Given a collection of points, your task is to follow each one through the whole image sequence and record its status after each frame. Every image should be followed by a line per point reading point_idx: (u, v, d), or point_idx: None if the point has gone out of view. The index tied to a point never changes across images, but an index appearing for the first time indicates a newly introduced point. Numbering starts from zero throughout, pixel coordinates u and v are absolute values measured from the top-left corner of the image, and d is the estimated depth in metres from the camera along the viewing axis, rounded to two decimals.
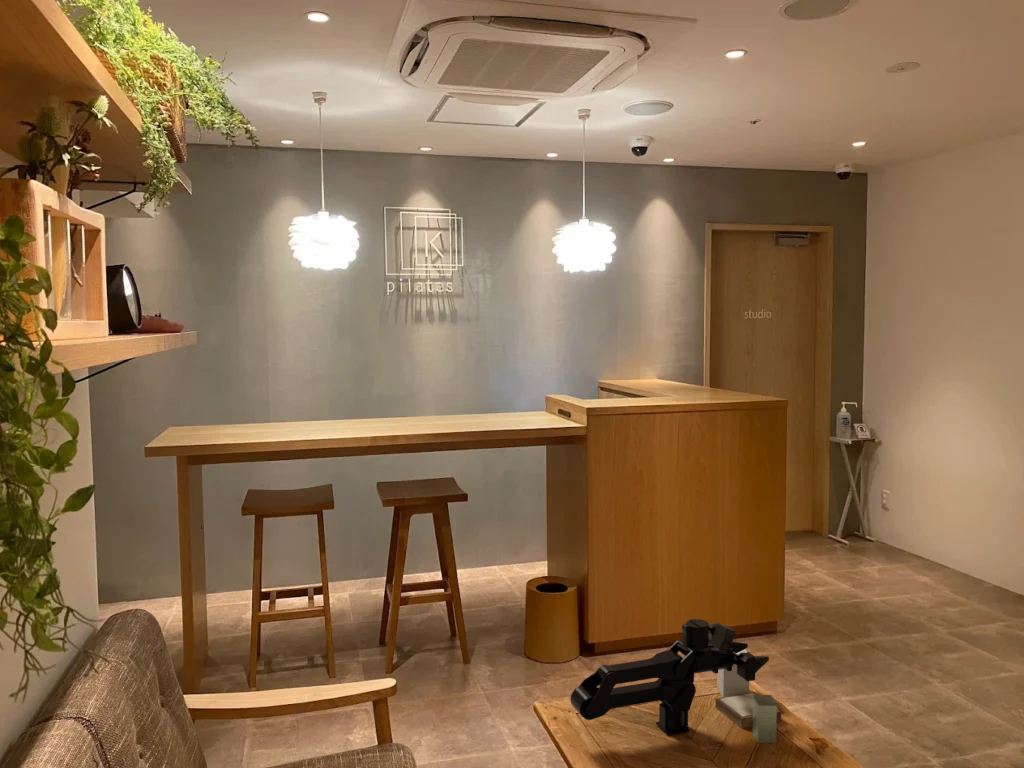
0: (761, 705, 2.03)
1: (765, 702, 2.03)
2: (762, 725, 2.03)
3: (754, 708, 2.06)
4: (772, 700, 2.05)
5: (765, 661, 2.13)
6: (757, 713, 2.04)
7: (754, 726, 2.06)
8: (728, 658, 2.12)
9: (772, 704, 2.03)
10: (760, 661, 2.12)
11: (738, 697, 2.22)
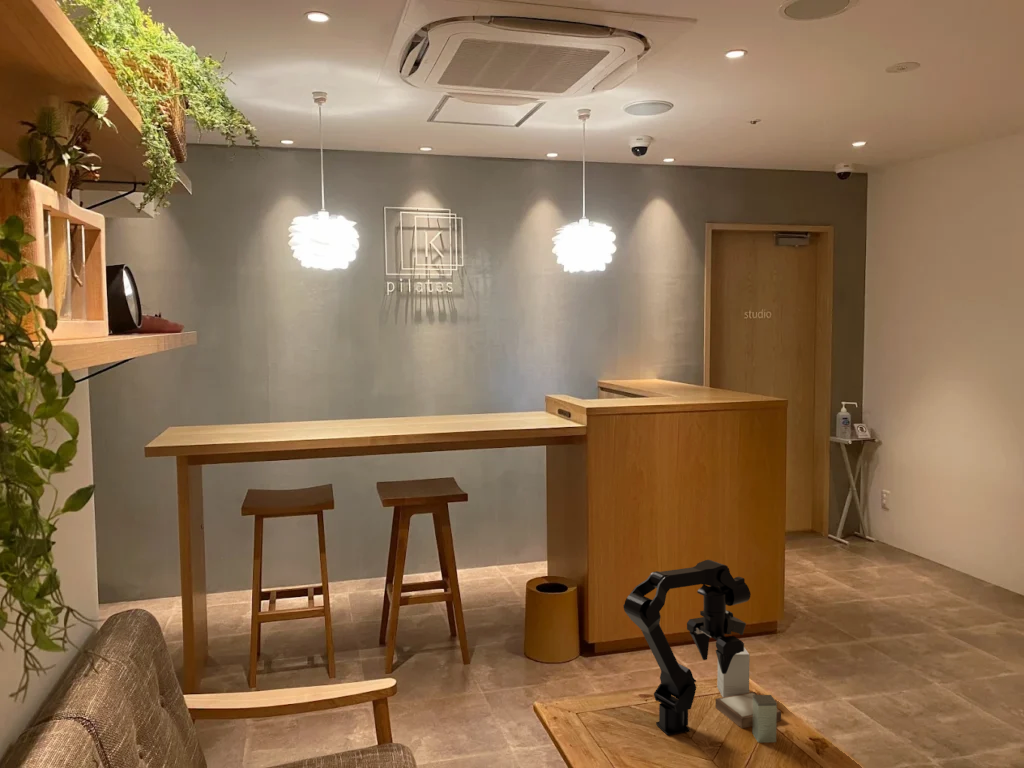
0: (761, 705, 2.03)
1: (765, 702, 2.03)
2: (762, 725, 2.03)
3: (754, 708, 2.06)
4: (772, 700, 2.05)
5: (724, 669, 2.12)
6: (757, 713, 2.04)
7: (754, 726, 2.06)
8: (722, 629, 2.14)
9: (772, 704, 2.03)
10: (727, 663, 2.12)
11: (738, 697, 2.22)
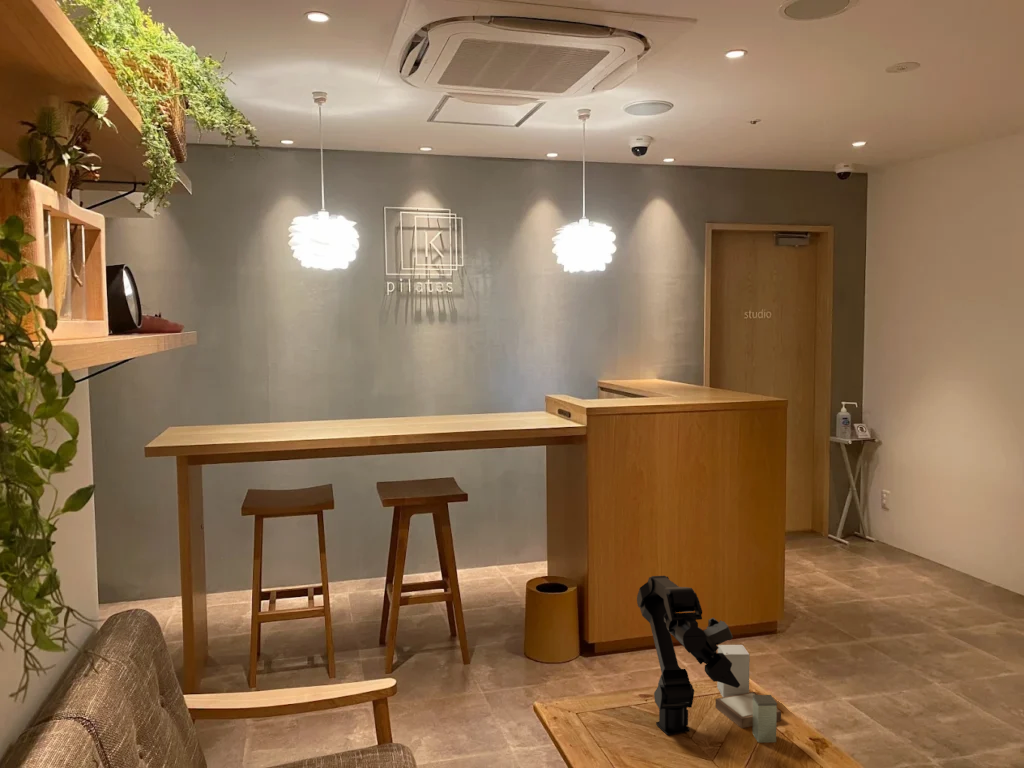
0: (761, 705, 2.03)
1: (765, 702, 2.03)
2: (762, 725, 2.03)
3: (754, 708, 2.06)
4: (772, 700, 2.05)
5: (734, 684, 1.99)
6: (757, 713, 2.04)
7: (754, 726, 2.06)
8: (707, 650, 2.01)
9: (772, 704, 2.03)
10: (731, 678, 1.98)
11: (738, 697, 2.22)
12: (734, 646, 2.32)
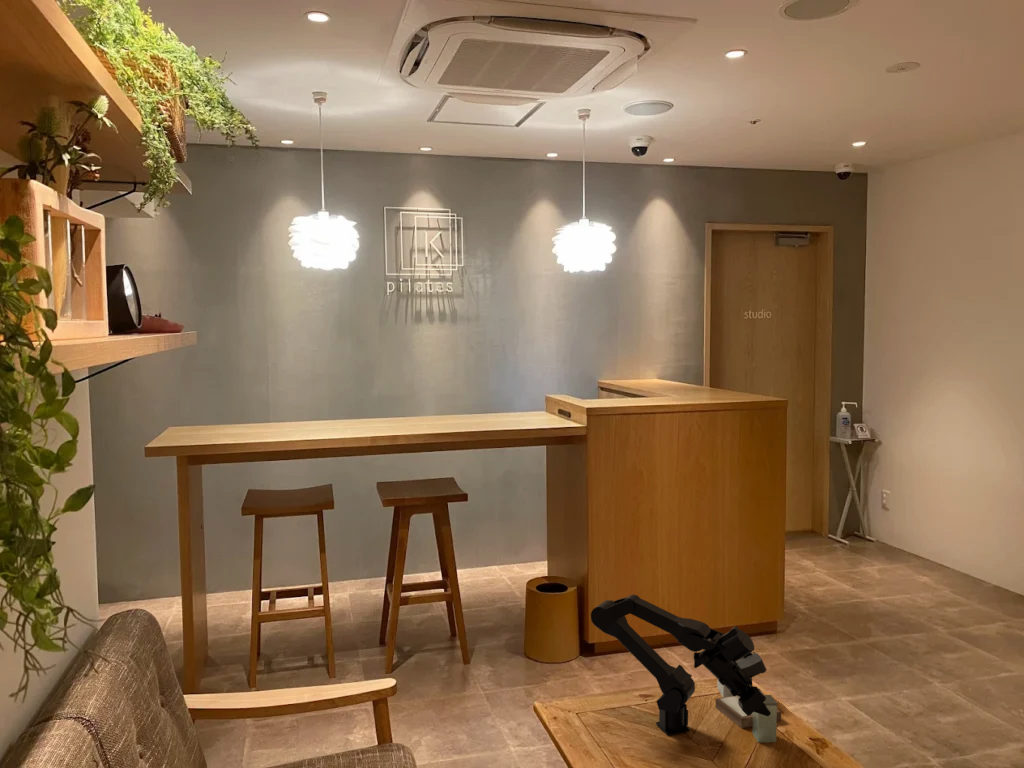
0: None
1: (765, 702, 2.03)
2: (762, 725, 2.03)
3: None
4: (772, 700, 2.05)
5: (765, 713, 2.02)
6: (757, 713, 2.04)
7: (754, 726, 2.06)
8: (741, 683, 2.02)
9: (772, 704, 2.03)
10: (762, 707, 2.02)
11: (738, 697, 2.22)
12: None
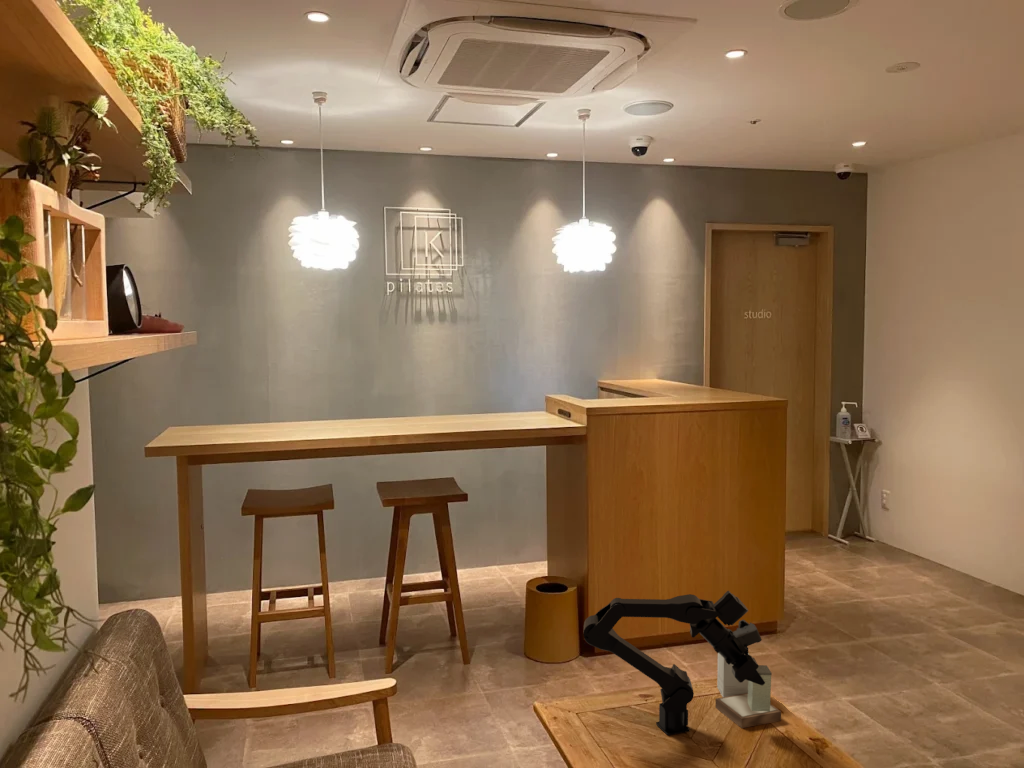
0: None
1: (760, 671, 2.07)
2: (756, 694, 2.07)
3: None
4: (767, 670, 2.08)
5: (759, 682, 2.06)
6: (752, 682, 2.07)
7: (749, 695, 2.10)
8: (735, 652, 2.06)
9: (767, 674, 2.06)
10: (756, 676, 2.05)
11: (738, 697, 2.22)
12: None
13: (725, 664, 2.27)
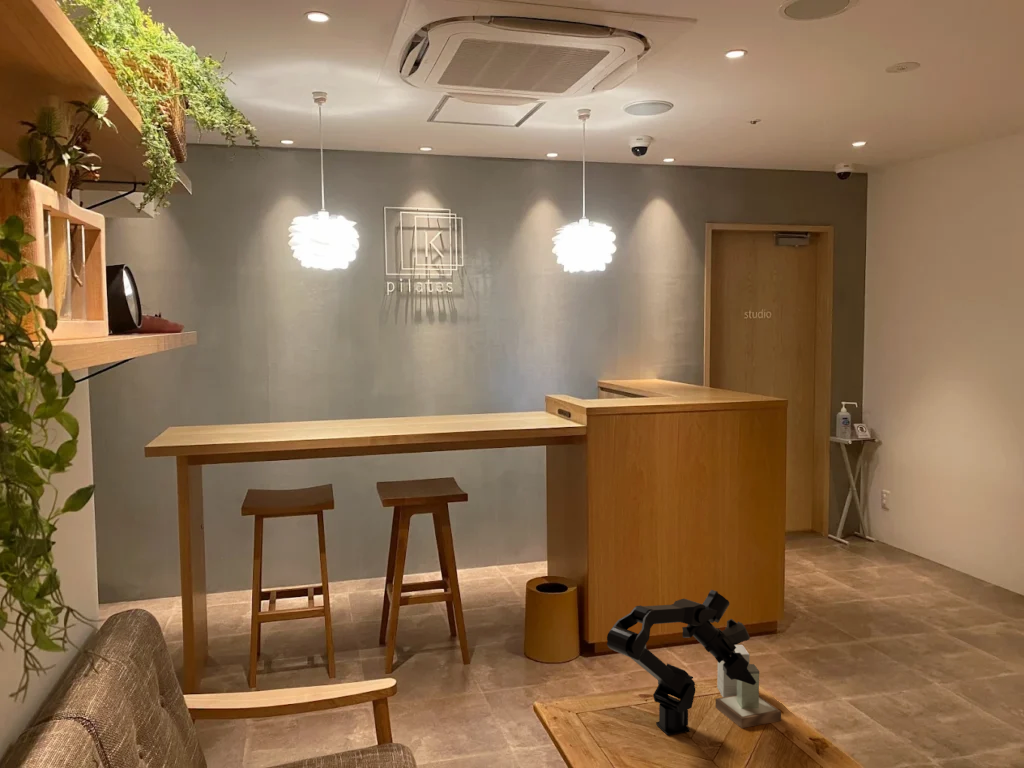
0: None
1: (748, 670, 2.16)
2: (745, 692, 2.16)
3: None
4: (755, 668, 2.17)
5: (751, 682, 2.13)
6: (741, 681, 2.16)
7: (738, 693, 2.19)
8: (725, 650, 2.14)
9: (755, 672, 2.15)
10: (747, 676, 2.12)
11: None
12: None
13: None
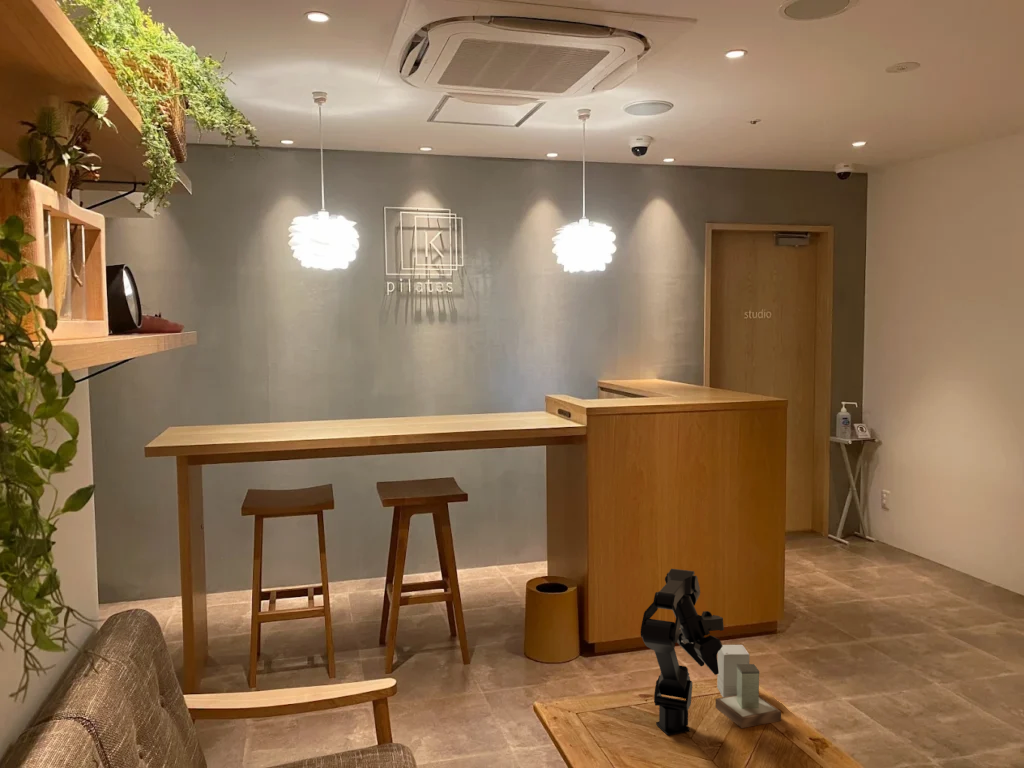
0: (744, 673, 2.15)
1: (748, 670, 2.16)
2: (745, 692, 2.16)
3: (738, 676, 2.19)
4: (755, 668, 2.17)
5: (714, 670, 2.13)
6: (741, 681, 2.16)
7: (738, 693, 2.19)
8: (699, 632, 2.15)
9: (755, 672, 2.15)
10: (714, 663, 2.12)
11: None
12: (734, 646, 2.32)
13: (725, 664, 2.27)
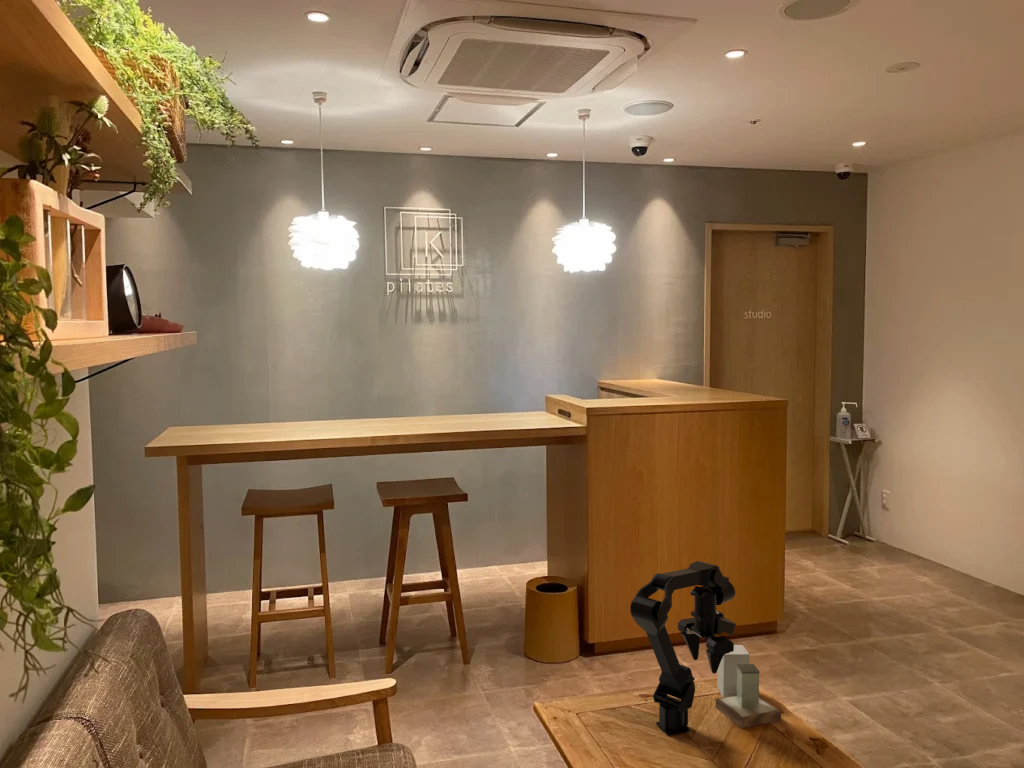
0: (744, 673, 2.15)
1: (748, 670, 2.16)
2: (745, 692, 2.16)
3: (738, 676, 2.19)
4: (755, 668, 2.17)
5: (714, 669, 2.15)
6: (741, 681, 2.16)
7: (738, 693, 2.19)
8: (713, 629, 2.17)
9: (755, 672, 2.15)
10: (717, 662, 2.15)
11: None
12: (734, 646, 2.32)
13: (725, 664, 2.27)
